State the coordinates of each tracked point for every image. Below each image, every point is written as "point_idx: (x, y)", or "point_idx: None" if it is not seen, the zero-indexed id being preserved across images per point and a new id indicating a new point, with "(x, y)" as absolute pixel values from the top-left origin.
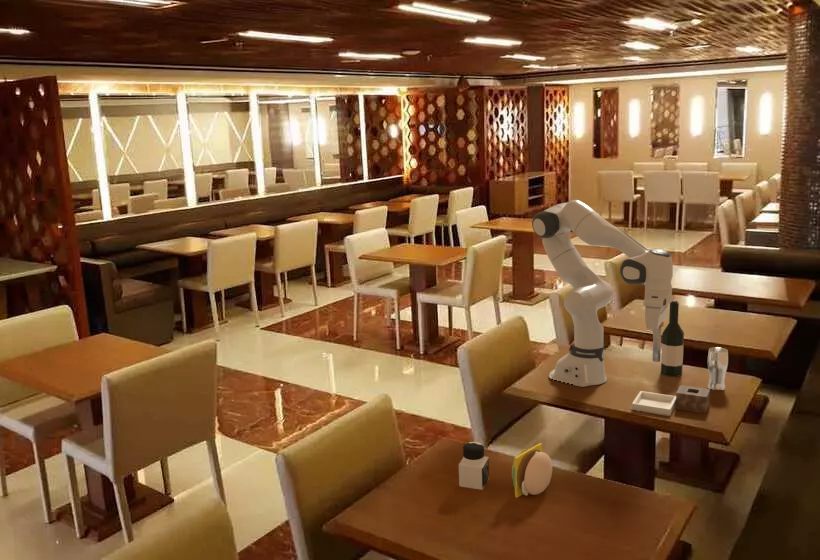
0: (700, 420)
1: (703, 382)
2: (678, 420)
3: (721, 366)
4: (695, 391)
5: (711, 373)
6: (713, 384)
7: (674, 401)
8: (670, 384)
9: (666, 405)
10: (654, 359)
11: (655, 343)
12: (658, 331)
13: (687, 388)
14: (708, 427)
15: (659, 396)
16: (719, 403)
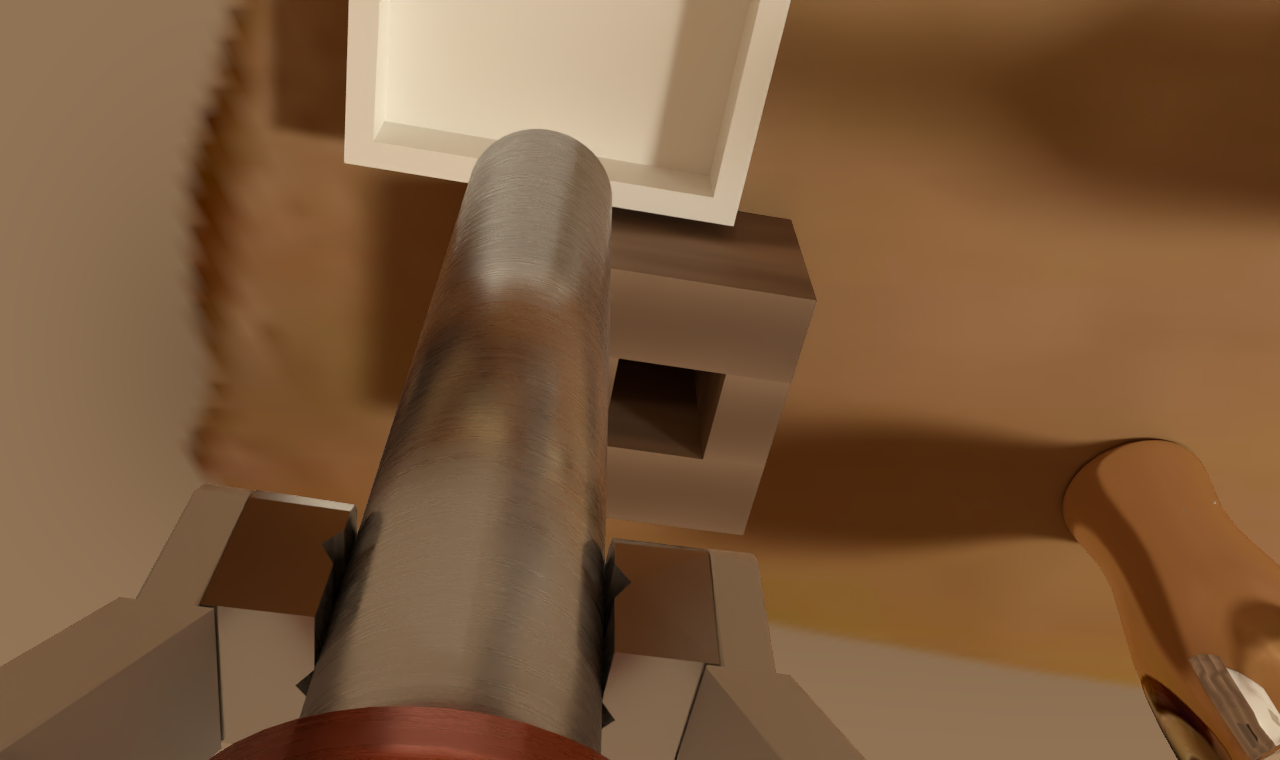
0: (369, 371)
1: (1275, 411)
2: (293, 208)
3: (1146, 692)
4: (708, 416)
5: (1158, 561)
6: (1103, 506)
7: None
8: (1248, 132)
9: (590, 104)
10: (469, 182)
11: (408, 380)
12: (191, 753)
13: (722, 363)
14: (250, 419)
15: (745, 39)
16: (780, 501)
